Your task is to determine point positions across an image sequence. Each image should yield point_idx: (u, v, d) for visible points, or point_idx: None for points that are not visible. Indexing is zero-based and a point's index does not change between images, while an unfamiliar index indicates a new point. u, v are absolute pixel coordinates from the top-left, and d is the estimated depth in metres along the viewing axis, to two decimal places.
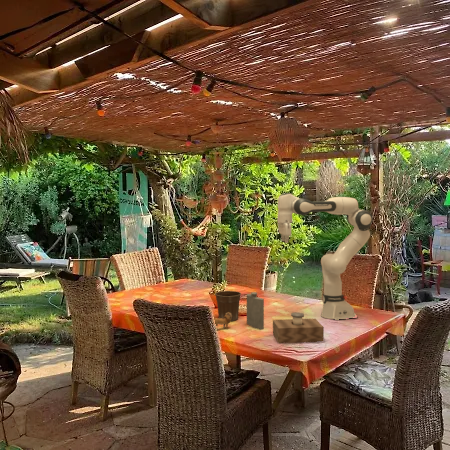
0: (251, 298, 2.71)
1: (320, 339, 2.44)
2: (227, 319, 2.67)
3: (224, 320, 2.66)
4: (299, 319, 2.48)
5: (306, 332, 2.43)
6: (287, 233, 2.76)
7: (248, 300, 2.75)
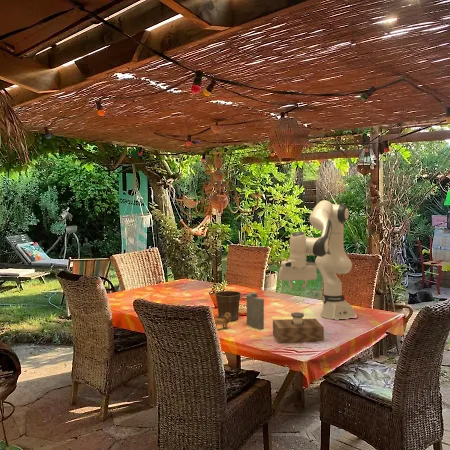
0: (251, 298, 2.71)
1: (320, 339, 2.44)
2: (226, 319, 2.67)
3: (223, 320, 2.66)
4: (299, 319, 2.48)
5: (306, 332, 2.43)
6: None
7: (248, 300, 2.75)
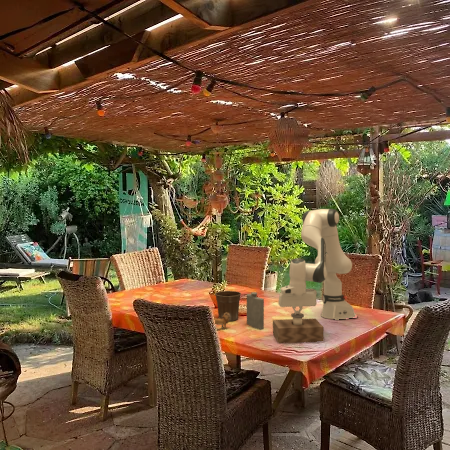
0: (251, 298, 2.71)
1: (320, 339, 2.44)
2: (225, 319, 2.66)
3: (222, 320, 2.66)
4: (299, 319, 2.48)
5: (306, 332, 2.43)
6: None
7: (248, 300, 2.75)
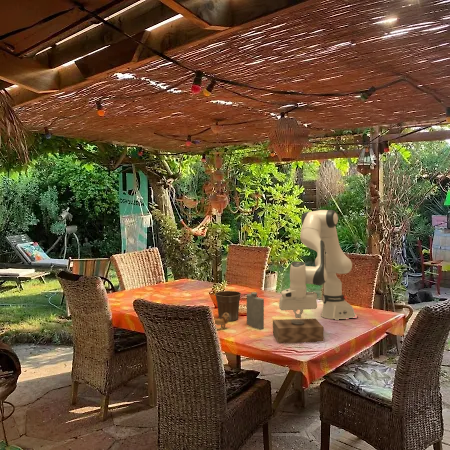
0: (251, 298, 2.71)
1: (320, 339, 2.44)
2: (225, 319, 2.66)
3: (222, 320, 2.66)
4: None
5: (306, 332, 2.43)
6: None
7: (248, 300, 2.75)
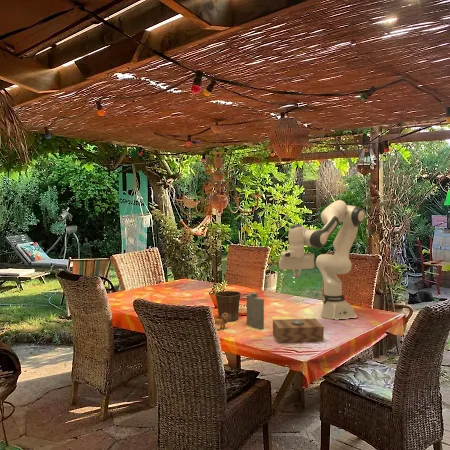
0: (251, 298, 2.71)
1: (320, 339, 2.44)
2: (224, 319, 2.66)
3: (221, 320, 2.66)
4: None
5: (306, 332, 2.43)
6: None
7: (248, 300, 2.75)
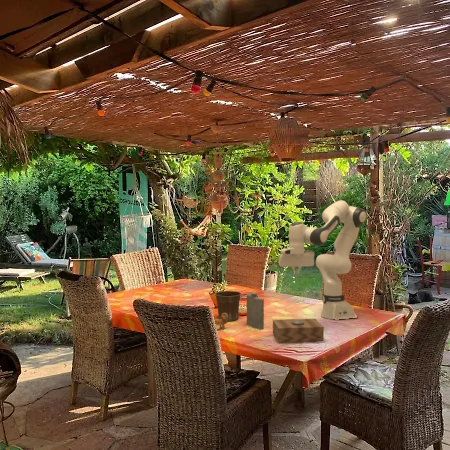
0: (251, 298, 2.71)
1: (320, 339, 2.44)
2: (223, 319, 2.66)
3: (220, 320, 2.65)
4: None
5: (306, 332, 2.43)
6: None
7: (248, 300, 2.75)
